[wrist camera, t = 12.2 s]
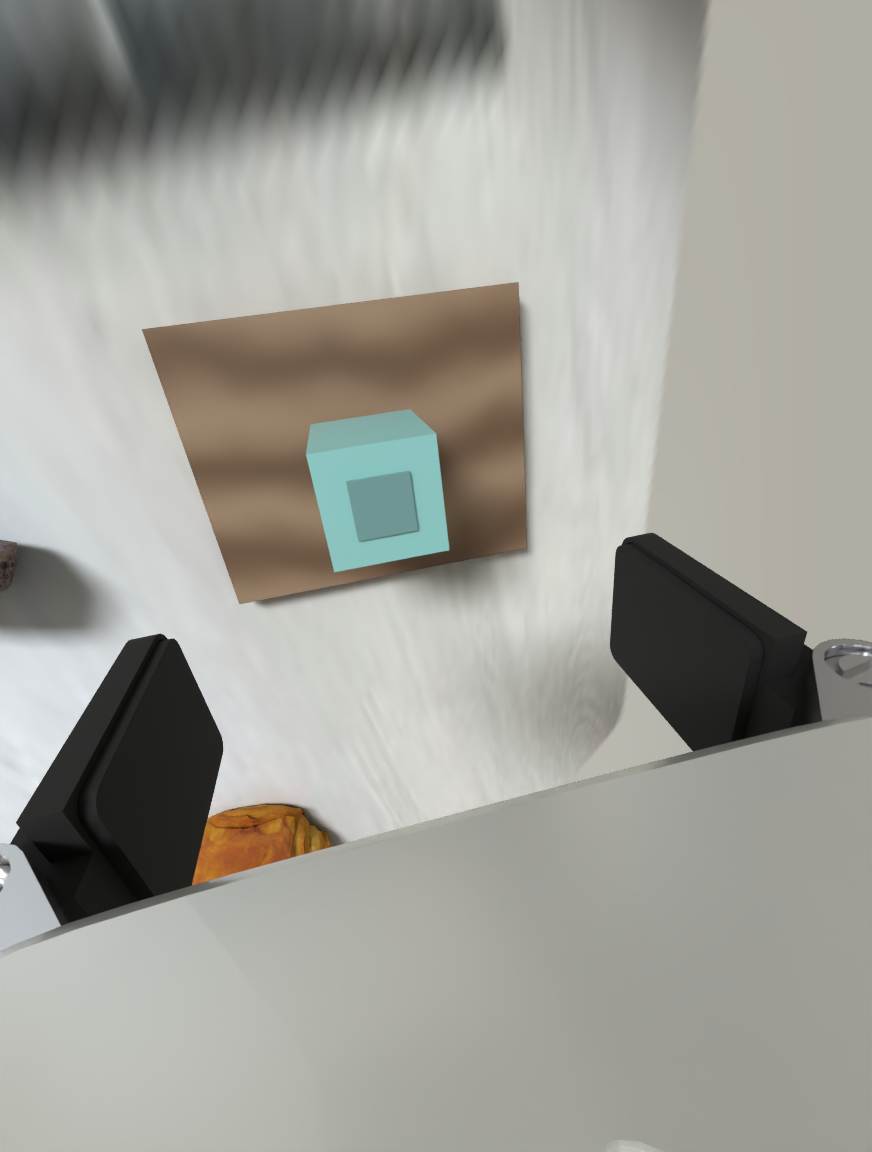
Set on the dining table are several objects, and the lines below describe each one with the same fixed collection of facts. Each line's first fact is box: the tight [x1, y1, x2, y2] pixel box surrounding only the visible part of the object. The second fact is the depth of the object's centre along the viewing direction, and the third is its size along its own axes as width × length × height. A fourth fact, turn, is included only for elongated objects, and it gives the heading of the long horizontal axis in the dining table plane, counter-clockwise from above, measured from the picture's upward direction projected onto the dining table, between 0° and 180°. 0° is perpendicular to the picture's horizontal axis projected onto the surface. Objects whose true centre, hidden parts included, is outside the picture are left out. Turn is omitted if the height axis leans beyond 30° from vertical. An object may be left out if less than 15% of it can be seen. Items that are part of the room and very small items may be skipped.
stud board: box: [142, 282, 527, 604], centre depth 30 cm, size 18×22×11 cm
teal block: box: [306, 409, 449, 572], centre depth 27 cm, size 6×6×8 cm
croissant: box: [192, 804, 332, 886], centre depth 47 cm, size 14×16×8 cm
